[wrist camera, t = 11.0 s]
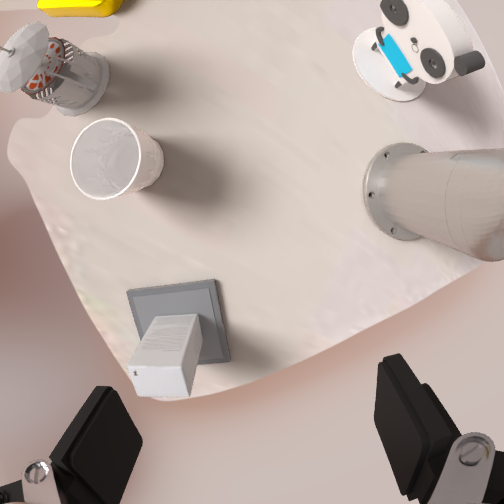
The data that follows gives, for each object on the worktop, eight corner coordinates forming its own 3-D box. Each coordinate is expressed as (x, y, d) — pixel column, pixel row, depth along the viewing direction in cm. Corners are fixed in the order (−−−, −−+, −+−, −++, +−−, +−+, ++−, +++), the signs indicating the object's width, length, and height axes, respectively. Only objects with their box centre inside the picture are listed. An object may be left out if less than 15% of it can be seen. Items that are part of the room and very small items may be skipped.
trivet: (214, 279, 38) (213, 281, 37) (230, 358, 41) (230, 362, 40) (128, 289, 39) (125, 292, 38) (151, 364, 42) (149, 367, 41)
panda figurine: (333, 36, 31) (373, -23, 16) (395, 17, 30) (446, -30, 15) (382, 113, 33) (448, 86, 19) (438, 87, 32) (507, 63, 18)
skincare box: (162, 342, 40) (136, 397, 28) (155, 315, 39) (124, 365, 27) (204, 340, 40) (190, 398, 28) (199, 312, 38) (181, 365, 27)
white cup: (137, 206, 36) (102, 217, 26) (100, 163, 35) (57, 162, 25) (182, 161, 35) (158, 156, 25) (141, 118, 33) (107, 101, 24)
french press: (72, 46, 30) (-43, -18, 6) (133, 62, 31) (18, -34, 7) (42, 107, 32) (-92, 81, 8) (99, 129, 34) (-53, 98, 9)
